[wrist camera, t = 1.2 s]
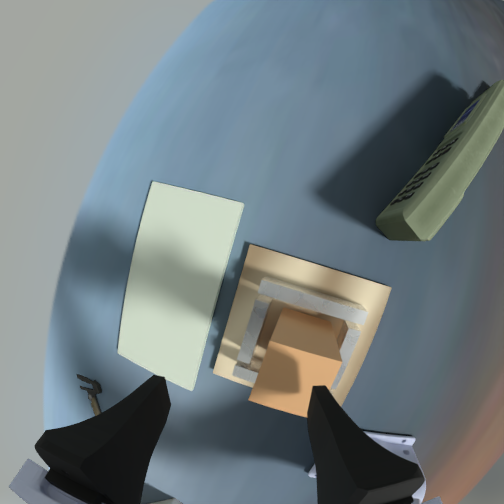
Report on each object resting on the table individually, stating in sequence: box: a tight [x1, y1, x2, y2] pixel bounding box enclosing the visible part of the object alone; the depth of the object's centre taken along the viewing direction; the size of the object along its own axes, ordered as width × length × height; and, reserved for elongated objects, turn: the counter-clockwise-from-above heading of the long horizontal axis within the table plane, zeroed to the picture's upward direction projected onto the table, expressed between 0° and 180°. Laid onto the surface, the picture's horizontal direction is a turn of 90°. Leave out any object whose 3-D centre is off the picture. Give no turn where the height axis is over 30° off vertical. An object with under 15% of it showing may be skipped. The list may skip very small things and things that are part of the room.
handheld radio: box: [376, 80, 504, 241], centre depth 15 cm, size 7×3×25 cm
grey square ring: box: [232, 276, 368, 395], centre depth 20 cm, size 8×8×2 cm
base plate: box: [213, 244, 391, 406], centre depth 21 cm, size 12×12×1 cm
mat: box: [118, 181, 244, 391], centre depth 23 cm, size 9×18×1 cm, turn 163°
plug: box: [249, 307, 342, 417], centre depth 17 cm, size 4×4×8 cm
